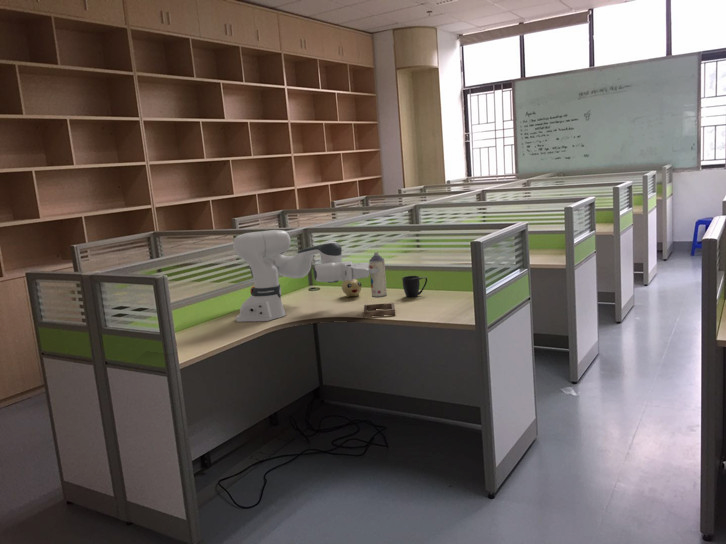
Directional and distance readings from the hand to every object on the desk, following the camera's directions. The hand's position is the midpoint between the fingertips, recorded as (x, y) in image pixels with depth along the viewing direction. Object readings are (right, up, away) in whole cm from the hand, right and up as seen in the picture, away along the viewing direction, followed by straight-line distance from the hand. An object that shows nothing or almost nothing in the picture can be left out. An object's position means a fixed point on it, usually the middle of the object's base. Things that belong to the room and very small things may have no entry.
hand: (379, 268), depth 278 cm
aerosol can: (0, -13, +2) cm, 13 cm away
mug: (+18, -14, +20) cm, 30 cm away
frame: (0, -20, -8) cm, 21 cm away
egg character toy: (-12, -14, +31) cm, 36 cm away
